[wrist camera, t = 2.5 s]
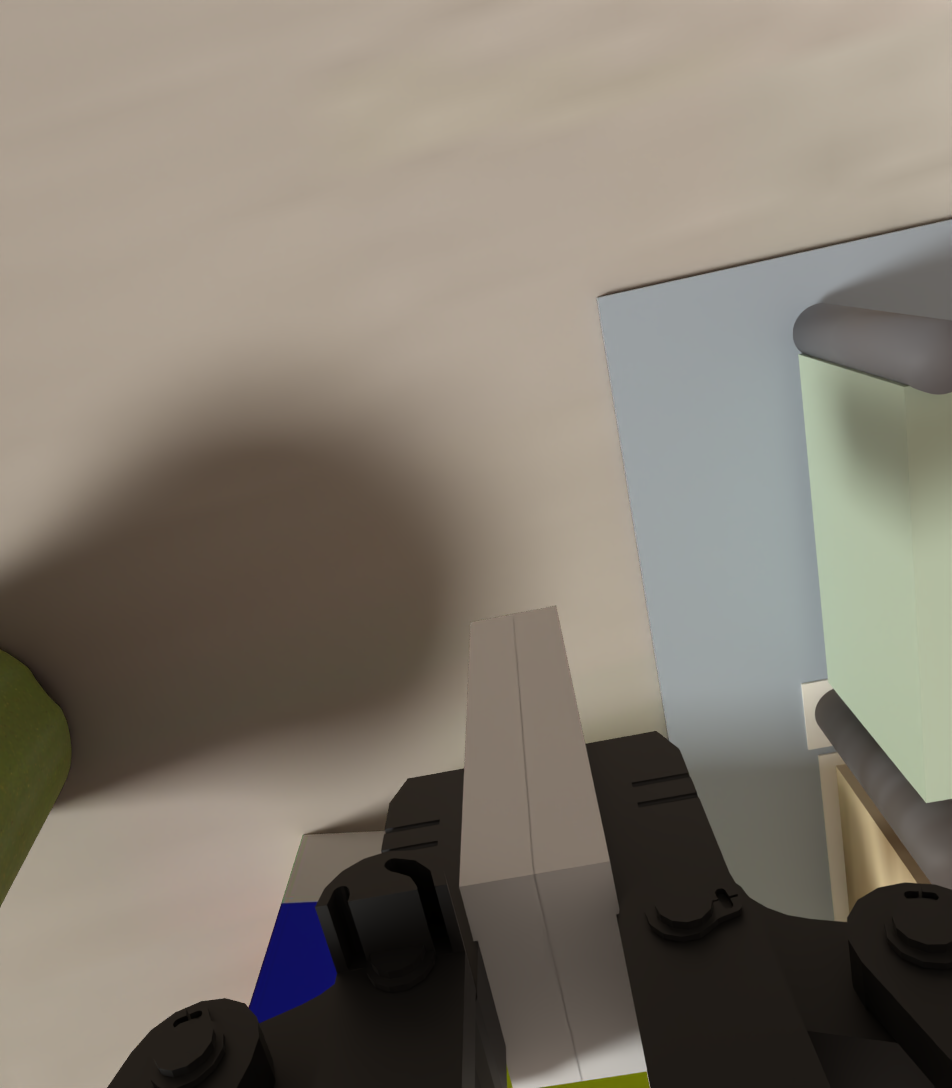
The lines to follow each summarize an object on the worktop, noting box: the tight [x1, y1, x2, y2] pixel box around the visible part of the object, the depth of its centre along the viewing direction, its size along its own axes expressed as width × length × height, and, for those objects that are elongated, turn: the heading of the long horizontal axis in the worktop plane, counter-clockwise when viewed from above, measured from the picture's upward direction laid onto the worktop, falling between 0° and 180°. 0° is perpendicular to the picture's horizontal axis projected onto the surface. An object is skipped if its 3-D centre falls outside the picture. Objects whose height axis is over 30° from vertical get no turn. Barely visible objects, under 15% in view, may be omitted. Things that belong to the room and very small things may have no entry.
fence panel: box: [793, 303, 952, 803], centre depth 21 cm, size 11×1×6 cm, turn 12°
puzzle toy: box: [249, 831, 650, 1088], centre depth 26 cm, size 10×10×10 cm
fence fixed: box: [815, 689, 952, 913], centre depth 26 cm, size 15×2×8 cm, turn 12°
